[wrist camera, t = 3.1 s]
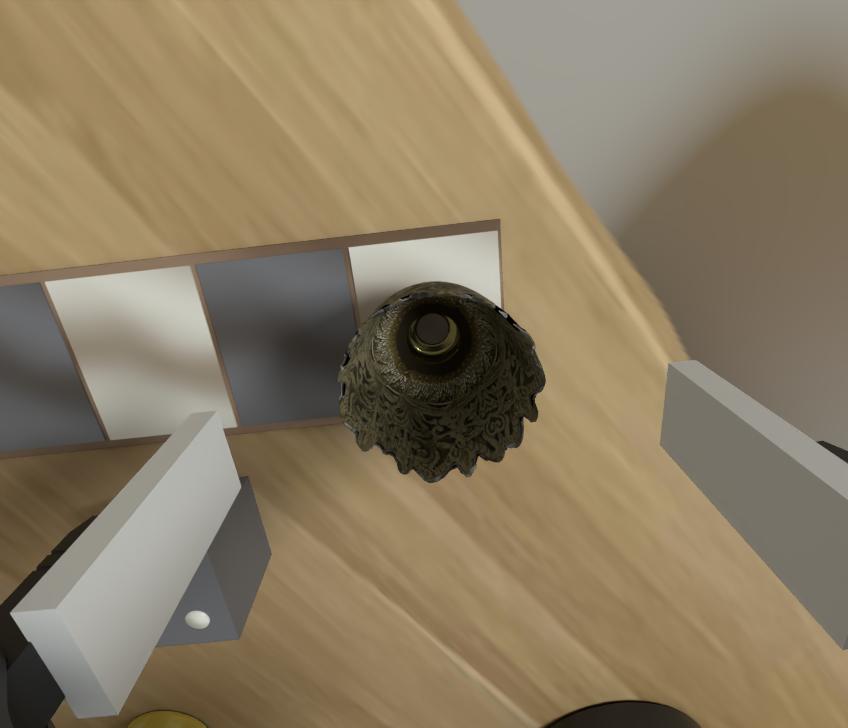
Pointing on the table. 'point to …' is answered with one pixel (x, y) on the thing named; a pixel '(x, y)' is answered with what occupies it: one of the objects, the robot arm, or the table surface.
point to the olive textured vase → (439, 381)
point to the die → (223, 579)
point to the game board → (211, 334)
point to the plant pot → (165, 720)
